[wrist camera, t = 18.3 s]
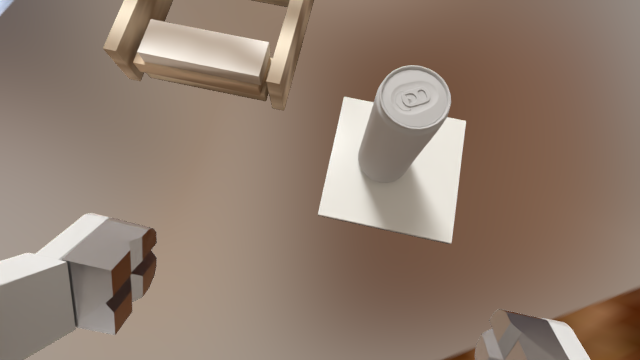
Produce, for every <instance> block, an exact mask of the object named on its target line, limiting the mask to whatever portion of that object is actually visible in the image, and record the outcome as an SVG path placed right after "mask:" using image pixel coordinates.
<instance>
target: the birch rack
mask: <svg viewBox="0 0 640 360" xmlns="http://www.w3.org/2000/svg"><path fill="white" fill-rule="evenodd" d="M172 1H173V0H124V2H123V4H122V7H121V9H120V11H119V13H118V15H117V18H116V20H115V22H114V24H113V27H112V29H111V31H110V33H109V36H108V38H107V40H106V43H105V45H104V47H103V49H104V50H105V51H106V52H107V54H108V55H109V56H110V57H111V58H112V59H113V61H114V62H115V63H116V64H117V65H118V67H119V68H120V69H121V70H122V71H123V72H124V73H125V74H126V76H127V77H128V78H129V79H133V80H137V81H141V79H142V76H143V74H144V72H140V71H139V70H138V68H137V67H136V66H135V64H134V63H133V61H134V58H135V56H136V54H137V51H138V49H139V46H140V44H141V41H142V39H143V36H144V34H145V32H146V29H147V27H148V24H149V22H150V19H153V20H158V21H163V22H164V21H165V19H166V16H167V14H168V11H169V9H170V6H171V4H172ZM253 1H258V2H263V3H268V4H274V5H279V6H284V7H288V8H287V12H286V15H285V18H284V22H283V25H282V29H281V32H280V36H279V39H278V43H277V46H276V49H275V53H274V56H273V60H272V63H271V66H270V70H269V73H268V77H267V80H266V83H267V87H268V92H269V96H270V100H271V105H272V108H274V109H279V110H284V109H285V106H286V102H287V98H288V95H289V91H290V87H291V83H292V80H293V76H294V72H295V69H296V65H297V61H298V57H299V54H300V50H301V46H302V43H303V39H304V35H305V31H306V28H307V24H308V21H309V17H310V13H311V9H312V5H313V2H314V0H253Z"/></svg>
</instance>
